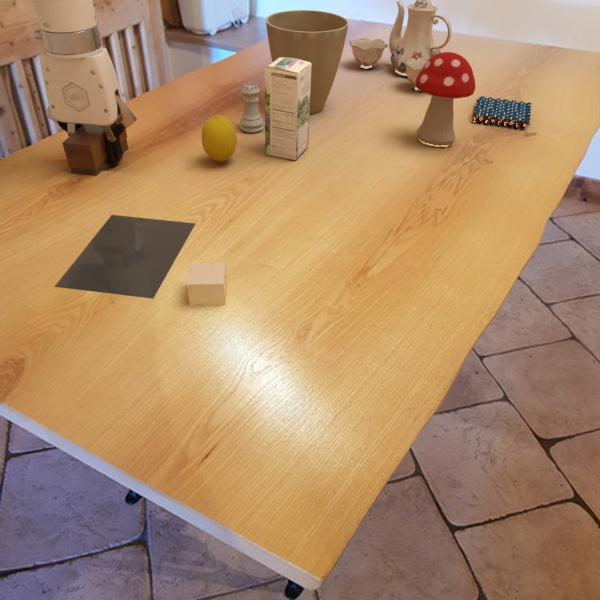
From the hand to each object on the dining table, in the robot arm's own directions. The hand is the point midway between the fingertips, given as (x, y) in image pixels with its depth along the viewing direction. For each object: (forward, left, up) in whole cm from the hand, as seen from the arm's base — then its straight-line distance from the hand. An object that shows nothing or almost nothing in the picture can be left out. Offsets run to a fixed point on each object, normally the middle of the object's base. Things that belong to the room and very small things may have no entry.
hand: (101, 159), depth 89 cm
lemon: (+19, +4, -1) cm, 19 cm away
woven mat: (+67, +33, -1) cm, 75 cm away
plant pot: (+29, +30, -1) cm, 42 cm away
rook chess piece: (+21, +18, -1) cm, 28 cm away
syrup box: (+29, +10, -1) cm, 31 cm away
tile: (+15, -24, -1) cm, 28 cm away
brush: (0, 0, -1) cm, 1 cm away
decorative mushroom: (+54, +19, -1) cm, 57 cm away
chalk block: (+27, -30, -1) cm, 40 cm away
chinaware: (+48, +54, -1) cm, 72 cm away
